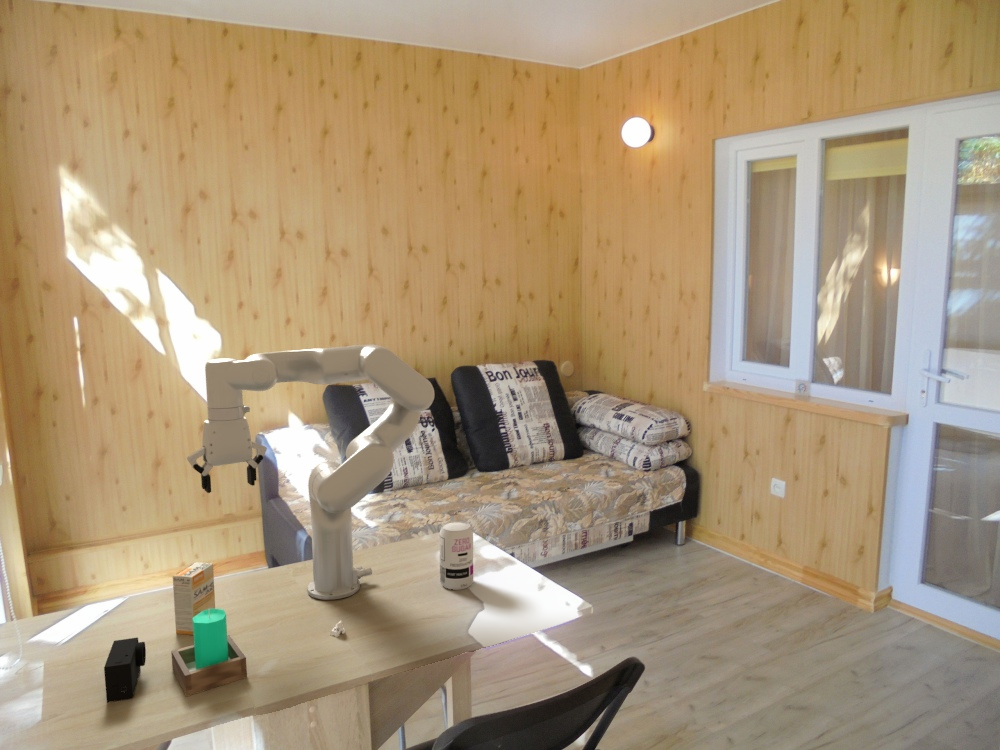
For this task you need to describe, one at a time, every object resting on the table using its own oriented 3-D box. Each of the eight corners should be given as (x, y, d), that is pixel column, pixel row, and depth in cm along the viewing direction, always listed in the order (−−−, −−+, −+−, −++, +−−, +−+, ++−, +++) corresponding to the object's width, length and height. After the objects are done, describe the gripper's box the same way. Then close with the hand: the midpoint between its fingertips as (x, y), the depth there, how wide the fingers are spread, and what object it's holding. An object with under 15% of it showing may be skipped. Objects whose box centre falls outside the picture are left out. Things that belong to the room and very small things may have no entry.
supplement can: (454, 574, 190) (453, 518, 188) (480, 582, 185) (479, 524, 183) (433, 585, 183) (432, 527, 181) (459, 593, 179) (458, 534, 177)
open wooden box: (230, 653, 151) (229, 634, 150) (247, 677, 142) (246, 657, 142) (172, 670, 145) (171, 651, 144) (186, 696, 136) (185, 675, 135)
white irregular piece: (339, 639, 158) (339, 625, 157) (328, 637, 158) (328, 623, 158) (346, 632, 160) (346, 619, 160) (335, 631, 161) (335, 617, 161)
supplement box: (195, 636, 158) (191, 577, 157) (175, 633, 159) (171, 575, 157) (217, 618, 166) (214, 562, 165) (198, 616, 167) (194, 561, 165)
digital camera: (139, 698, 135) (137, 662, 134) (106, 703, 134) (103, 667, 133) (147, 669, 145) (144, 635, 144) (116, 674, 144) (113, 640, 143)
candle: (220, 655, 148) (217, 598, 146) (234, 666, 144) (231, 608, 142) (190, 666, 144) (186, 608, 142) (203, 678, 139) (200, 618, 138)
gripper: (258, 407, 174) (262, 478, 177) (180, 415, 164) (185, 490, 167) (269, 412, 168) (273, 485, 171) (189, 421, 158) (194, 498, 161)
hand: (229, 487), depth 169 cm, fingers open, 9 cm apart
